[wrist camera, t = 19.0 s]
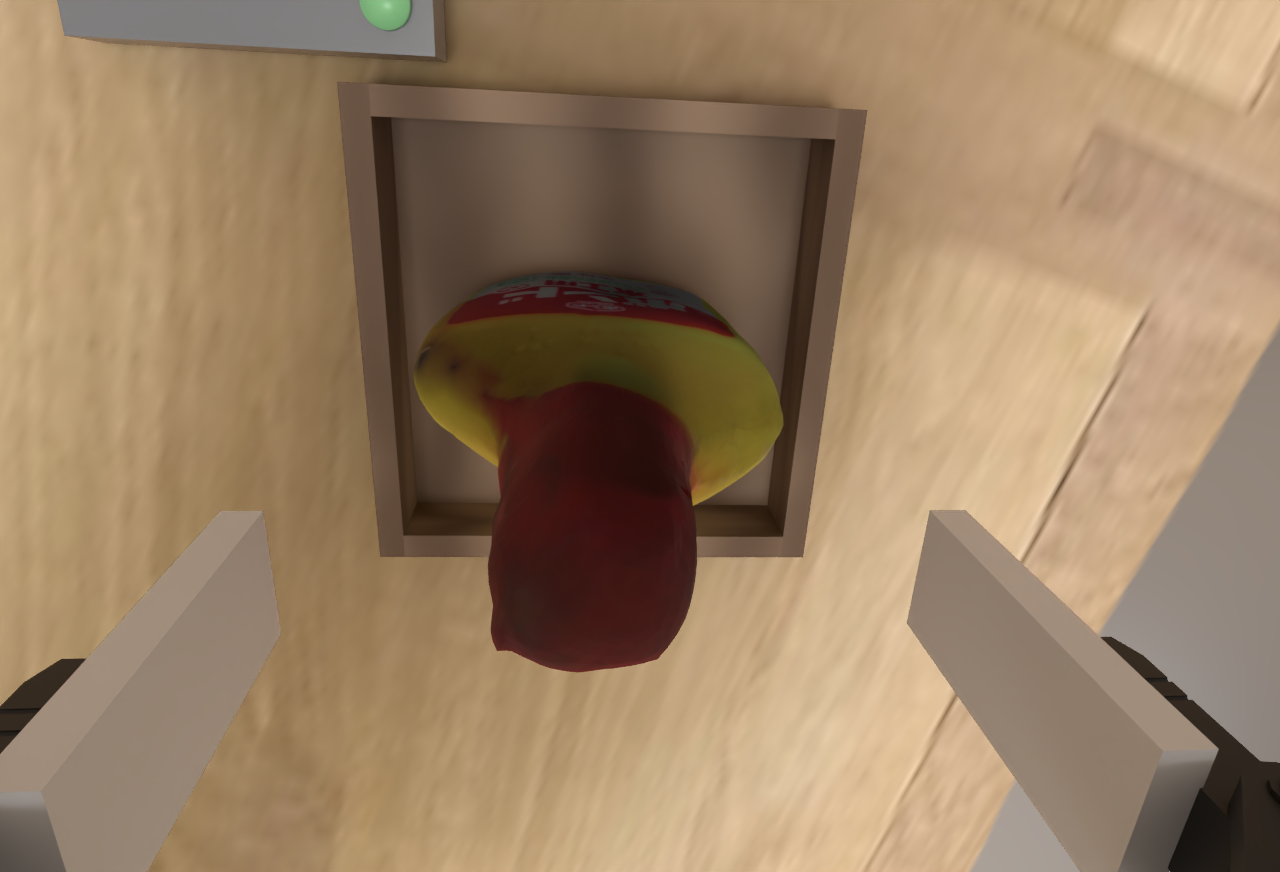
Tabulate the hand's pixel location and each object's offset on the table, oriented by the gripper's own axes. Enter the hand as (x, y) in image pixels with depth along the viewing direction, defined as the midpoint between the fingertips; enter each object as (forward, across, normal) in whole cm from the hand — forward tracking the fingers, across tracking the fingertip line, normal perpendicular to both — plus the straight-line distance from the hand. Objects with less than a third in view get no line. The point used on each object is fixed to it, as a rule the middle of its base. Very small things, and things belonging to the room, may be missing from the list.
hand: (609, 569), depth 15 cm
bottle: (+18, 0, 0) cm, 19 cm away
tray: (+19, +1, 0) cm, 19 cm away
